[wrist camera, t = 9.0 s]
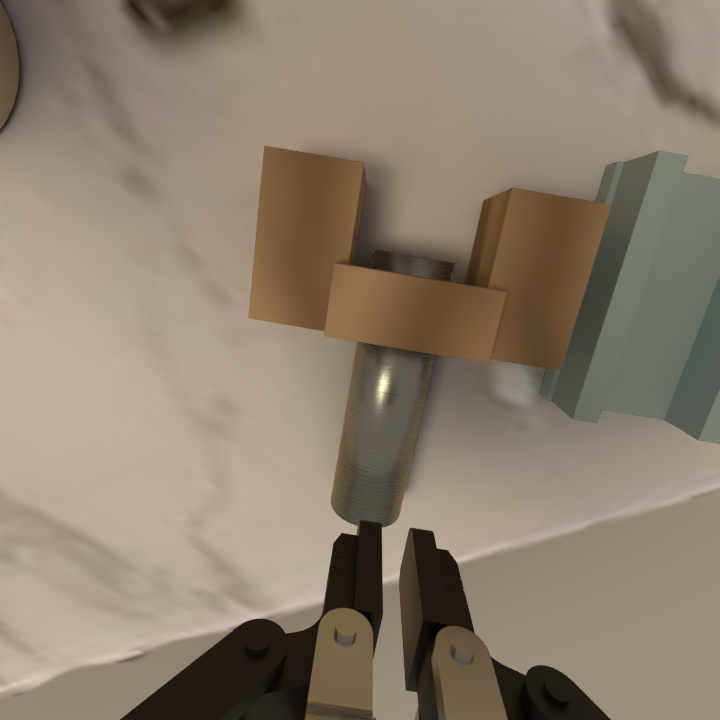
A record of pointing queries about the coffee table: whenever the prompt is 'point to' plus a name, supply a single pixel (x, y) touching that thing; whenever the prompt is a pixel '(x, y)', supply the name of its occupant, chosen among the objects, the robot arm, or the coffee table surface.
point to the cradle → (650, 303)
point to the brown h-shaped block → (414, 293)
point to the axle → (383, 414)
